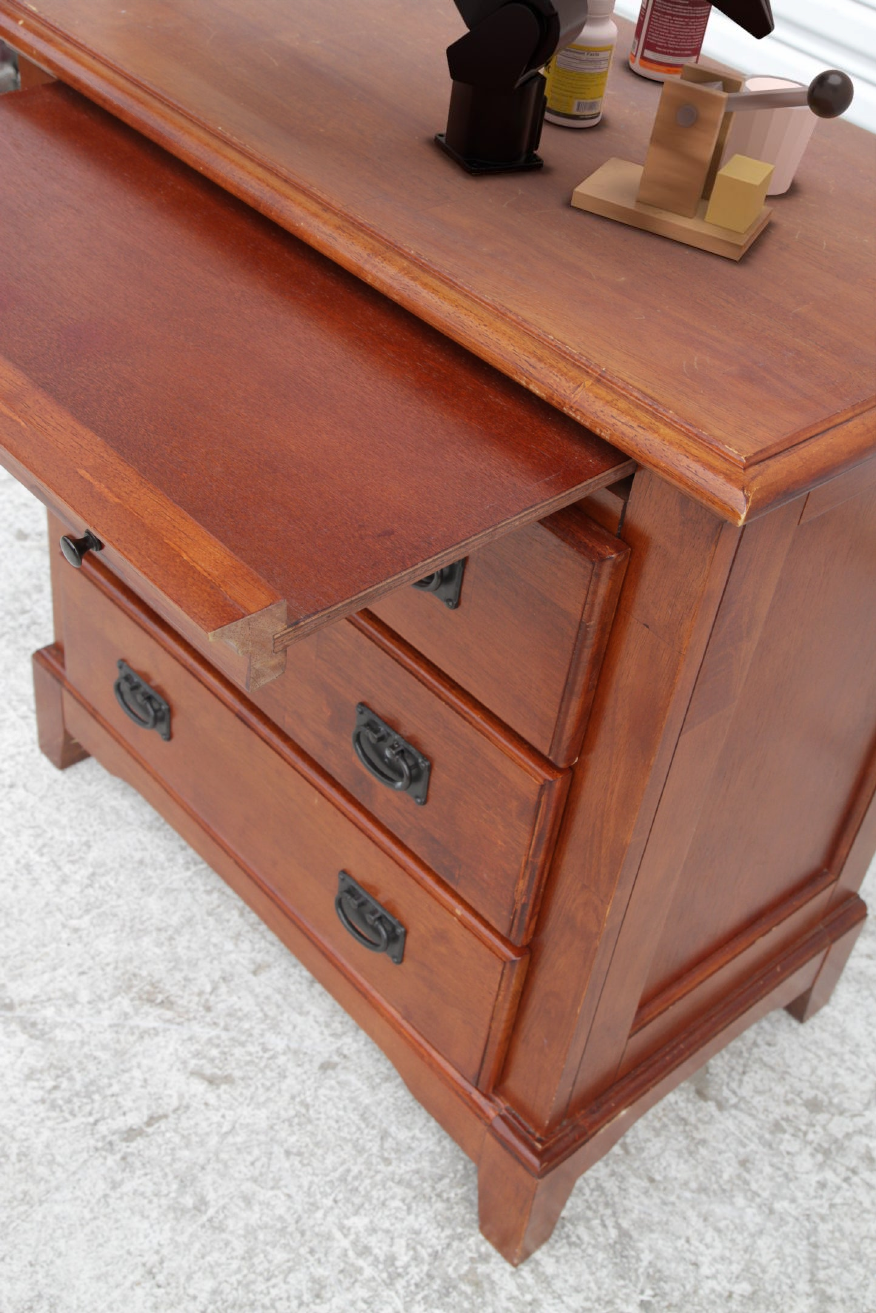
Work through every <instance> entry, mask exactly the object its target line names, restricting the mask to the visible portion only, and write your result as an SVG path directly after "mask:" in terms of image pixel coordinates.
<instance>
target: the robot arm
mask: <svg viewBox="0 0 876 1313" xmlns="http://www.w3.org/2000/svg"><path fill="white" fill-rule="evenodd" d="M452 1H453V4H454V5H455V7H456V10H457V11H458V13H459V15H460V18H461V19H462V21H463V23H464V25H465V27H466V28H467V30H468V32H466V33H464V35H462V36H461V37H459V38H458V39H457V40H455V41H454V42H453V43H451V44H450V45H448V46H446V49H445V55H446V60H447V65H448V66H447V67H448V72H449V77H450V79H451V80H452V83H451V89H450V90H451V91H450V98H449V105H448V113H447V121H446V128H445V132H436V133H435V134H434V137H433V138H434V142H435V143H436V144H437V145H438V146H439V147H440V148H441V149H443V150H444V151H445V153H447V154H448V155H449V156H451V158H452V159H454V160H455V161H456V162H457V163H458V164H459V165H461V167H463V169H465V170H466V171H467V172H468V173H470V174H473V175H479V174H490V173H492V174H493V173H502V172H513V171H514V172H515V171H525V170H526V171H527V170H536V169H537V170H538V169H542V168H544V165H545V164H544V163H545V160H544V159H543V158H542V157H540V156H539V155H538V154H537V153H536V152H537V151H538V150H539V148H540V145H541V139H542V134H543V128H544V122H545V112H546V107H547V101H548V98H547V96H546V95H545V94H544V93H545V87H546V82H547V77H545V76H544V75H543V73H541V72H540V70H542V69H544V67H546V66H548V65H549V64H550V63H551V61H552V59H553V58H554V56H555V55H557V54H558V53H559V52H561V51H562V50H563V49H565V48H566V47H567V46H569V45H570V44H571V43H573V42H574V41H575V40H576V38H577V37H578V36H579V35H580V34H581V33H582V31H583V28H584V26H585V23H586V21H587V14H588V2H587V0H452ZM706 1H707V2H709V3H710V4H711V5H712V7H714V8H715V9H717V10H718V11H719V12H721V13H722V14H723V15H724V16H726V17H727V18H728V19H729V20H731V21H732V22H733V23H735V24H736V25H738V26H739V27H740V28H741V29H742V30H744V31H745V32H746V33H748V34H749V35H750V36H752V37H753V38H754V39H756V40H759V41H760V40H762V39H764V38H765V37H767V36H770V34H771V33H772V32H774V30H775V28H776V26H775V21H774V15H773V11H772V5H771V0H706Z"/></svg>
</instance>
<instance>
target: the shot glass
mask: <svg viewBox="0 0 876 1313" xmlns="http://www.w3.org/2000/svg"><path fill="white" fill-rule="evenodd" d="M741 77H743V78H746V81H745V84H744V88H743V91H742V92H749V91H761V90H773V89H784V88H796V87H808V86H809V85H807V84H806V83H803V82H802V81H801V82H800V81H797V80H794V79H790V78H788V77H782V76H777V75H772V74H755V73H753V74H747V75H744V76H741ZM819 118H820V117H818V116H817V115H815V114H814V113H813V112H812V111H811V110H810V108H809V106H798V107H785V108H772V109H760V110H747V111H737V112H736V116H735V120H734V123H733V127H732V130H731V134H730V137H729V141H728V144H727V148H726V151H725V155H724V159H723V162H722V166H721V169H722V168H723V167H724V166H725V165H726V163H727V162H728V161H729V160H730V159H731V158H732V157H733V156H734V155H735V154H738V155H742V156H745V157H748V158H751V159H754V160H758V161H761V162H764V163H767V164H770V165H774V166H775V168H774V171H773V174H772V177H771V181H770V184H769V187H768V190H767V193H766V196H777V195H781V194H786V192H787V191H788V190H789V189H790V186H791V184H792V182H793V179H794V177H795V175H796V172H797V170H798V167H799V165H800V163H801V160H802V158H803V156H804V153H805V151H806V149H807V146H808V144H809V141H810V139H811V137H812V134H813V132H814V130H815V127H816V125H817V124H818V121H819ZM721 169H720V170H721Z"/></svg>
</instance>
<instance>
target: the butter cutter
mask: <svg viewBox="0 0 876 1313" xmlns="http://www.w3.org/2000/svg"><path fill="white" fill-rule="evenodd" d="M718 81H722V87H723V92H722V91H719V90H715V89H712V88H709V87H705V86H702V85H699V84H695V83H707V82H718ZM745 81H746V78H743V77H742V76H739V75H737V74H732V73H729V72H726V71H723V70H719V69H716V68H712V67H709V66H706V65H703V64H699V63H698V64H696V63H693V62H689V61H687V62H686V63H685V64H684V65H683V68H682V72H681V76H680V79H679V78H675V77H672V76H669V77H667V78H666V79H665V81H664V82H663V86H662V90H661V94H660V98H659V102H658V106H657V111H656V115H655V119H654V123H653V127H652V132H651V135H650V141H649V142H648V143H649V144H648V147H647V152H646V156H645V160H644V165H640V164H637V163H634V162H632V161H628V160H625V159H622V158H618V157H614V156H611V157H610V158H609V159H608V160H607V161H606V162H604V163H603V164H602V165H601V166H599V167H598V169H596V170H595V171H594V172H592V174H590V175H589V176H587V178H585V180H583V181H582V182H581V183H579V184H578V186H576V187H575V188H574V189H573V191H572V192H573V193H572V197H571V201H570V206H572V207H575V208H577V209H581V210H583V211H587V212H590V213H593V214H595V215H598V216H602V217H605V218H607V219H611V220H614V221H617V222H620V223H623V224H626V225H629V226H632V227H635V228H637V229H640V230H643V231H647V232H650V233H652V234H657V235H658V236H662V237H665V238H668V239H670V240H673V241H676V242H680V243H683V244H686V245H688V246H692V247H695V248H698V249H699V250H700V249H701V250H704V251H707V252H708V253H709V252H710V253H713V254H716V255H719V256H722V257H724V258H728V259H731V260H734V261H736V262H738V261H739V260H740V259H741V258H742V257H743V255H744V254H745V253H746V252H747V250H748V249H749V247H751V245H752V244H753V243H754V242H755V240H756V239H757V238H758V236H760V234H761V233H762V232H763V230H764V229H765V228H766V227H767V225H768V224H769V222H770V219H771V216H772V212H773V210H774V207H772V206H769V205H766V204H765V205H764V204H763V206H762V210H761V213H760V214H759V215H758V217H757V218H756V219H755V220H754V222H753V223H752V224H751V225H750V226H749V228H748V229H747V230H746V231H745V232H744V234H742V233H739V232H736V231H733V230H730V229H727V228H724V227H720V226H717V225H714V224H711V223H708V222H705V221H704V220H705V216H706V212H707V209H708V205H709V202H710V198H711V195H712V191H713V188H714V184H715V180H716V177H717V173H718V172H719V171H720V169H721V166H722V162H723V159H724V155H725V151H726V148H727V144H728V141H729V137H730V134H731V130H732V127H733V123H734V120H735V116H736V112H737V111H734V112H725V108H726V104H727V101H728V97H729V94H728V93H737V92H742V91H743V88H744V84H745ZM723 115H724V117H723Z"/></svg>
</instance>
